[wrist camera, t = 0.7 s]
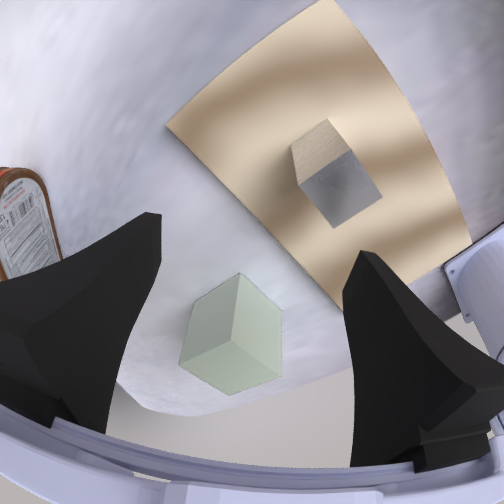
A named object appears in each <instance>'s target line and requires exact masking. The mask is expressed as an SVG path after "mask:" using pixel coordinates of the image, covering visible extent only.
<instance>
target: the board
mask: <svg viewBox="0 0 504 504" xmlns="http://www.w3.org/2000/svg"><path fill="white" fill-rule="evenodd" d="M326 119H328V120H329V121H330V123H331V124H332V125H333V126H334V128H335V129H336V130H337V131H338V133H339V134H340V135H341V136H342V138H343V139H344V140H345V142H346V143H347V144H348V146H349V147H350V148H351V150H352V151H353V152H354V154H355V155H356V157H357V158H358V160H359V161H360V163H361V164H362V165H363V167H364V168H365V170H366V171H367V173H368V174H369V176H370V178H371V179H372V181H373V182H374V184H375V185H376V187H377V188H378V190H379V192H380V193H381V195H382V196H383V197H382V198H381V199H379V200H378V201H376V202H375V203H373V204H372V205H370V206H369V207H367V208H366V209H364V210H363V211H361V212H359V213H358V214H356V215H355V216H353V217H352V218H350V219H349V220H347V221H345V222H344V223H342V224H341V225H339V226H338V227H336V228H335V229H333V228H332V227H331V225H330V224H329V223H328V221H327V220H326V219H325V218H324V216H323V215H322V214H321V213H320V211H319V210H318V209H317V208H316V206H315V205H314V204H313V203H312V202H311V200H310V199H309V198H308V197H307V195H306V194H305V193H304V192H303V191H302V189H301V188H300V187H299V186H298V182H297V176H296V170H295V164H294V159H293V153H292V148H291V144H292V143H293V142H295V141H296V140H298V139H299V138H300V137H302V136H303V135H304V134H306V133H307V132H309V131H310V130H311V129H313V128H314V127H316V126H317V125H318V124H320V123H321V122H323V121H324V120H326ZM166 126H167V127H168V128H169V129H170V130H171V131H172V132H173V133H174V134H175V135H176V136H177V137H178V138H179V139H180V140H181V141H182V142H183V143H184V144H185V145H186V146H187V147H188V148H189V149H190V150H191V151H192V152H193V153H194V154H195V155H196V156H197V157H198V158H199V159H200V160H201V161H202V162H203V163H204V164H205V165H206V166H207V167H208V168H209V169H210V170H211V171H212V173H213V174H214V175H215V176H216V177H217V178H218V179H219V180H220V181H221V182H222V183H223V184H224V185H225V186H226V187H227V188H228V189H229V190H230V191H231V192H232V193H233V194H234V195H235V196H236V197H237V198H238V199H239V200H240V201H241V202H242V203H243V205H244V206H245V207H246V208H247V209H248V210H249V211H250V212H251V213H252V214H253V215H254V216H255V217H256V218H257V219H258V220H259V221H260V222H261V223H262V224H263V225H264V227H265V228H266V229H267V230H268V231H269V232H270V233H271V234H272V235H273V236H274V237H275V238H276V239H277V240H278V241H279V242H280V244H281V245H282V246H283V247H284V248H285V249H286V250H287V251H288V252H289V253H290V254H291V255H292V256H293V257H294V258H295V260H296V261H297V262H298V263H299V264H300V265H301V266H302V267H303V268H304V269H305V270H306V271H307V272H308V274H309V275H310V276H311V277H312V278H313V279H314V280H315V281H316V282H317V283H318V284H319V285H320V287H321V288H322V289H323V290H324V291H325V292H326V293H327V294H328V295H329V296H330V297H331V299H332V300H333V301H334V302H335V303H336V304H337V305H338V306H339V307H340V308H341V310H342V311H343V301H342V290H343V288H344V286H345V284H346V281H347V279H348V277H349V275H350V272H351V270H352V268H353V266H354V263H355V261H356V259H357V256H358V254H359V252H360V250H364V251H369V252H374V253H376V254H377V255H378V256H379V257H380V258H381V259H382V260H383V261H384V262H385V263H386V264H387V265H388V266H389V267H390V268H391V269H392V270H393V271H394V272H395V274H396V275H397V276H398V277H399V278H400V279H401V280H402V281H403V282H404V283H405V285H408V284H410V283H411V282H413V281H415V280H417V279H418V278H420V277H421V276H423V275H425V274H426V273H428V272H430V271H431V270H433V269H434V268H436V267H438V266H439V265H441V264H442V263H444V262H446V261H447V260H449V259H450V258H452V257H453V256H455V255H456V254H458V253H459V252H461V251H462V250H464V249H465V248H467V247H468V246H470V245H471V244H472V241H471V238H470V235H469V232H468V229H467V226H466V223H465V221H464V218H463V215H462V212H461V210H460V207H459V205H458V202H457V200H456V197H455V195H454V192H453V190H452V188H451V185H450V183H449V181H448V178H447V176H446V174H445V172H444V169H443V167H442V165H441V163H440V161H439V159H438V157H437V155H436V153H435V151H434V149H433V147H432V145H431V143H430V141H429V139H428V137H427V135H426V133H425V131H424V129H423V127H422V126H421V124H420V122H419V120H418V118H417V117H416V115H415V113H414V111H413V110H412V108H411V106H410V104H409V103H408V101H407V99H406V98H405V96H404V95H403V93H402V91H401V90H400V88H399V87H398V85H397V83H396V82H395V80H394V79H393V77H392V76H391V74H390V73H389V71H388V70H387V68H386V67H385V65H384V64H383V62H382V61H381V60H380V58H379V57H378V55H377V54H376V53H375V51H374V50H373V48H372V47H371V46H370V44H369V43H368V42H367V40H366V39H365V38H364V36H363V35H362V34H361V33H360V31H359V30H358V29H357V28H356V26H355V25H354V24H353V23H352V21H351V20H350V19H349V18H348V17H347V15H346V14H345V13H344V12H343V11H342V9H341V8H340V7H339V6H338V5H337V4H336V3H335V1H334V0H320V1H318V2H316V3H315V4H313V5H312V6H310V7H309V8H307V9H306V10H304V11H303V12H301V13H299V14H298V15H297V16H295V17H294V18H292V19H291V20H289V21H288V22H286V23H285V24H283V25H282V26H281V27H279V28H278V29H276V30H275V31H274V32H272V33H271V34H270V35H268V36H267V37H265V38H264V39H263V40H261V41H260V42H259V43H258V44H256V45H255V46H254V47H252V48H251V49H250V50H249V51H247V52H246V53H245V54H243V55H242V56H241V57H240V58H238V59H237V60H236V61H235V62H234V63H232V64H231V65H230V66H229V67H228V68H226V69H225V70H224V71H223V72H222V73H220V74H219V75H218V76H217V77H216V78H215V79H214V80H212V81H211V82H210V83H209V84H208V85H207V86H206V87H205V88H203V89H202V90H201V91H200V92H199V93H198V94H197V95H196V96H195V97H194V98H192V99H191V100H190V101H189V102H188V103H187V104H186V105H185V106H184V107H183V108H182V109H181V110H180V111H179V112H178V113H177V114H176V115H175V116H174V117H173V118H172V119H171V120H170V121H169V122H168V123H167V124H166Z"/></svg>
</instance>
